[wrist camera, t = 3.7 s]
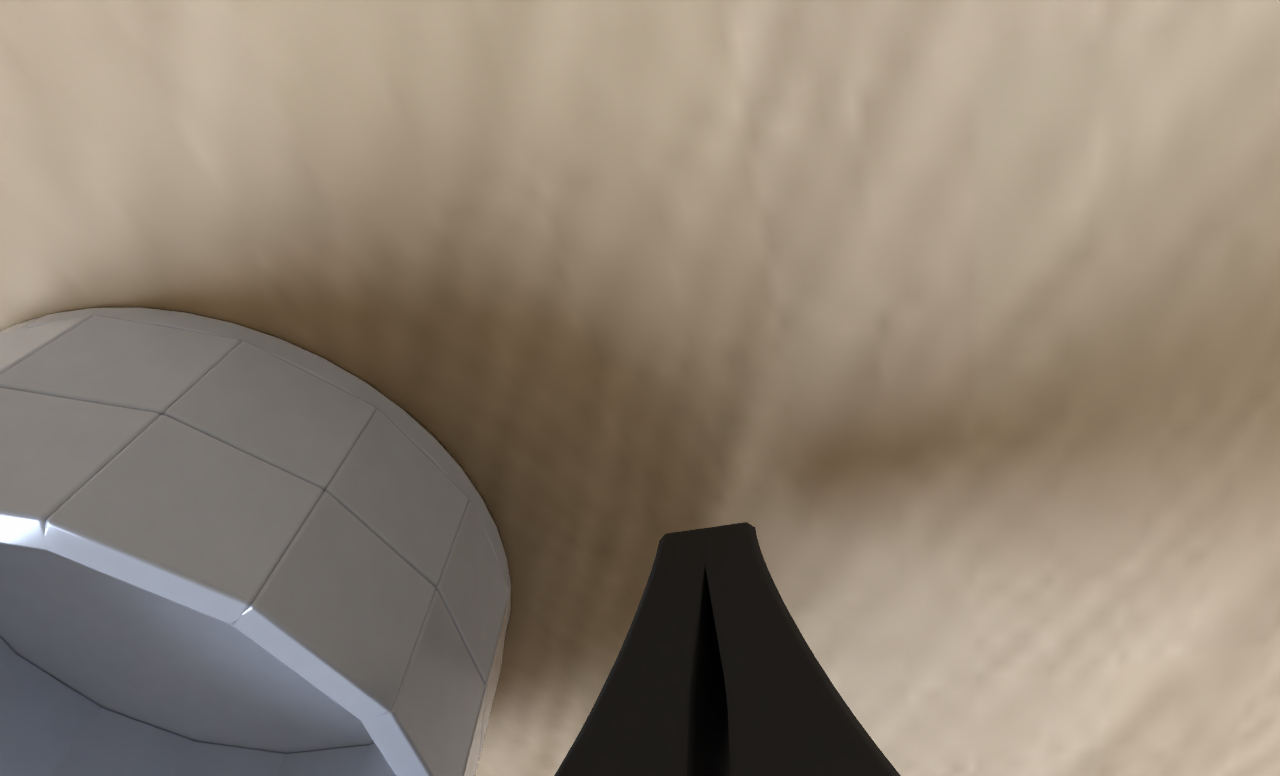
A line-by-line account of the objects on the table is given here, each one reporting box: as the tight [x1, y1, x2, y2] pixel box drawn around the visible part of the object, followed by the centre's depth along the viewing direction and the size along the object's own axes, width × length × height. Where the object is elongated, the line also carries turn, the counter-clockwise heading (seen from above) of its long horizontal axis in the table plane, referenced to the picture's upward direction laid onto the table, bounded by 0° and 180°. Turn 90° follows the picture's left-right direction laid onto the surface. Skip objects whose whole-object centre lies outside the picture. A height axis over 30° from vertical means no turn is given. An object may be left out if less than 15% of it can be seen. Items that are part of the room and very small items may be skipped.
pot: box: [0, 307, 511, 776], centre depth 12 cm, size 11×11×5 cm
